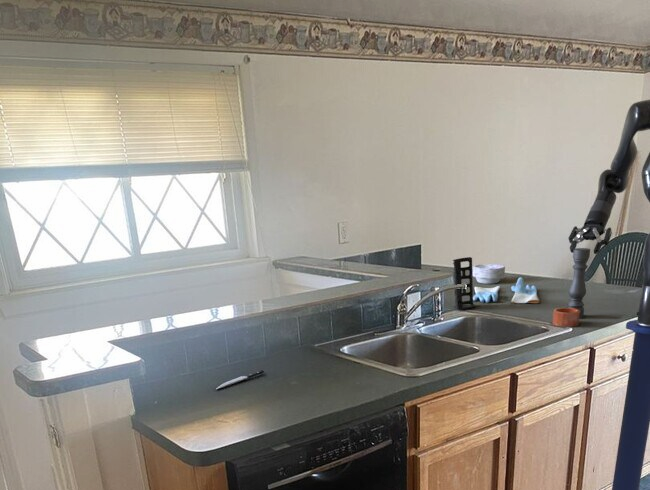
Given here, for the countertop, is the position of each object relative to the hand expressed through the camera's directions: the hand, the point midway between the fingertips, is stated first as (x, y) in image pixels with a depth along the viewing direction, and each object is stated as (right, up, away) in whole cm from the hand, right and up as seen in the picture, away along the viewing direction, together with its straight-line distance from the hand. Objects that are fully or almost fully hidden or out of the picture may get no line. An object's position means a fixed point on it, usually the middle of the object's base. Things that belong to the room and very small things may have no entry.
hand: (583, 252), depth 240 cm
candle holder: (0, -23, +8) cm, 24 cm away
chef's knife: (-121, -51, -46) cm, 139 cm away
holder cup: (-7, -27, -1) cm, 27 cm away
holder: (-38, -15, +31) cm, 51 cm away
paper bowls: (-15, +7, +79) cm, 81 cm away
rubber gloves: (-15, -6, +48) cm, 51 cm away
